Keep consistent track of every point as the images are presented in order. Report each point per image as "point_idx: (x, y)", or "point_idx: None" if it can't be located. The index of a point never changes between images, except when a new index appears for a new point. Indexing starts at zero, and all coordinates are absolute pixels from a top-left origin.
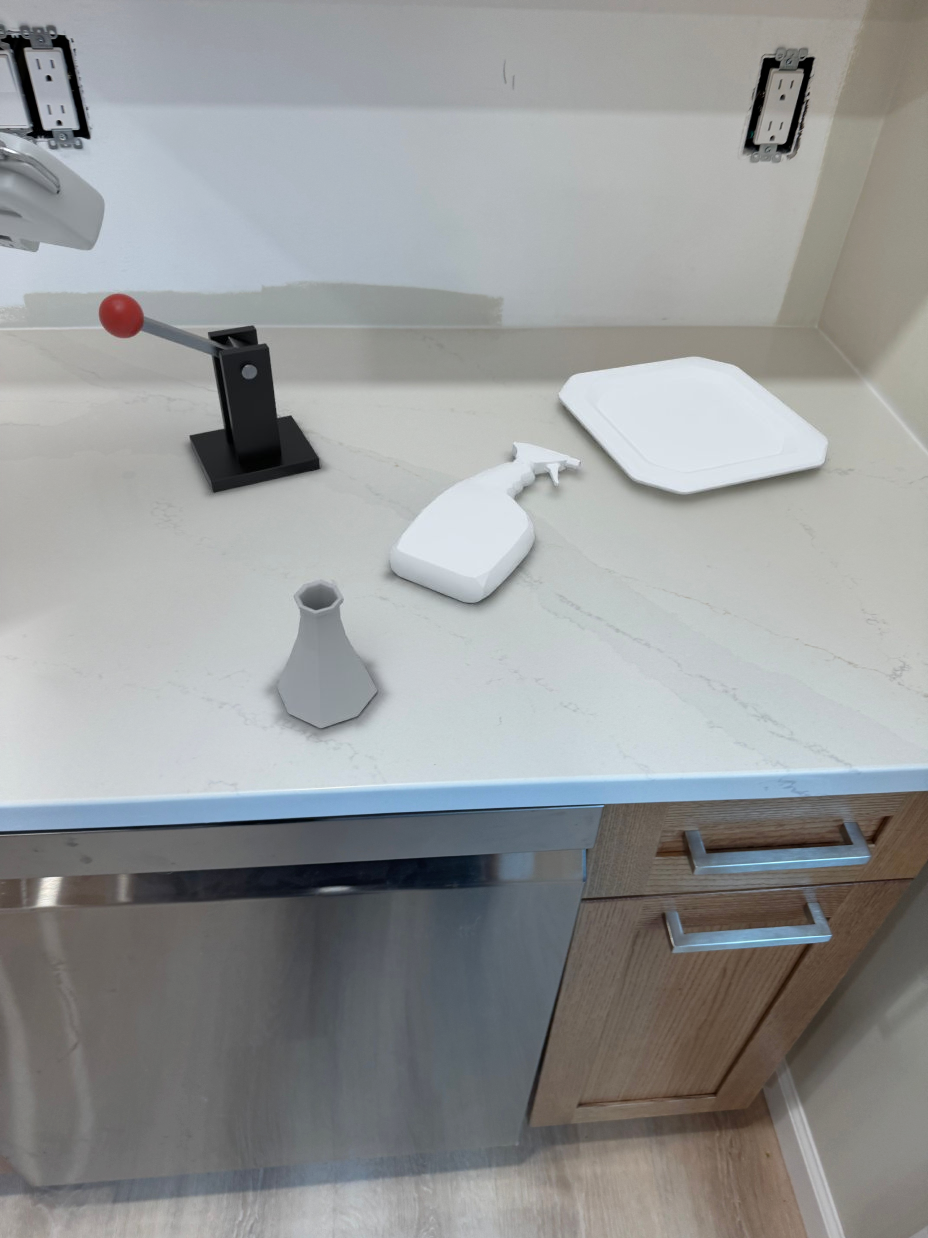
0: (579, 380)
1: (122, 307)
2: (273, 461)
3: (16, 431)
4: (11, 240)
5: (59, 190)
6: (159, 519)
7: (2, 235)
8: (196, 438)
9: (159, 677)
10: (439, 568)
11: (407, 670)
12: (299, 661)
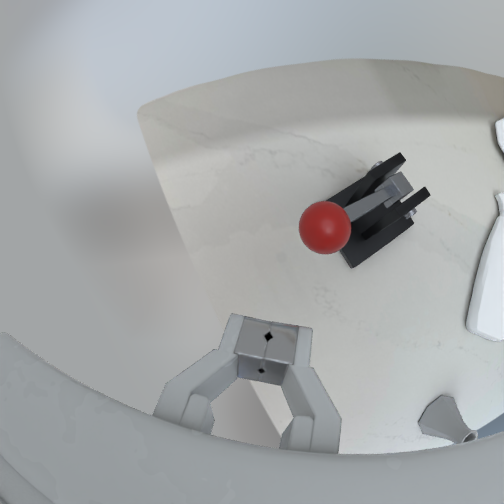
0: (501, 129)
1: (340, 238)
2: (387, 233)
3: (177, 217)
4: (277, 383)
5: (462, 457)
6: (323, 307)
7: (256, 377)
8: None
9: (362, 432)
10: (492, 337)
11: (467, 391)
12: (441, 437)
